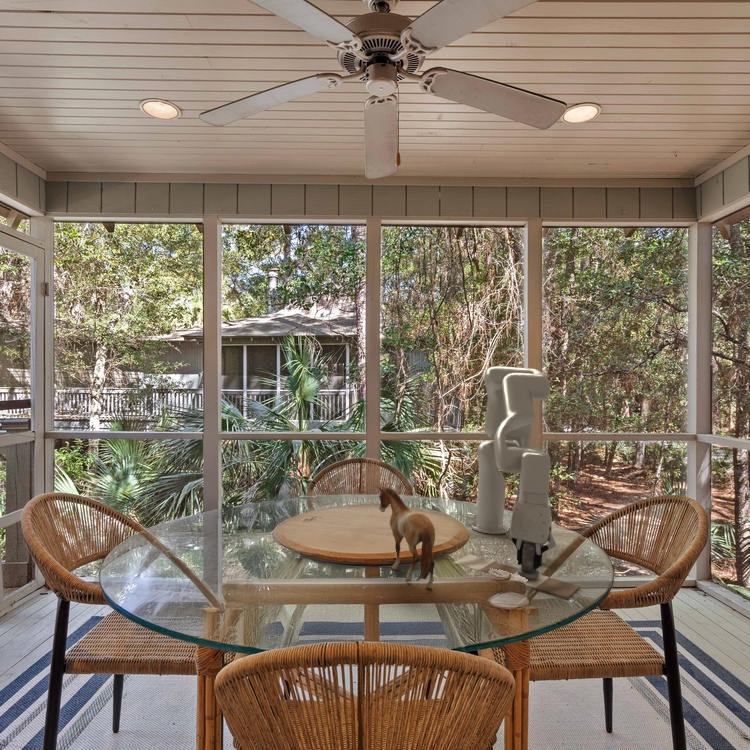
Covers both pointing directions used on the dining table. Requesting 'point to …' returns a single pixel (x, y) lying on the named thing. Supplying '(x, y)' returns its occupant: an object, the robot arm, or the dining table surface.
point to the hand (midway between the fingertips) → (528, 565)
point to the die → (544, 555)
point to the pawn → (528, 561)
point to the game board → (540, 583)
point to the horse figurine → (410, 533)
